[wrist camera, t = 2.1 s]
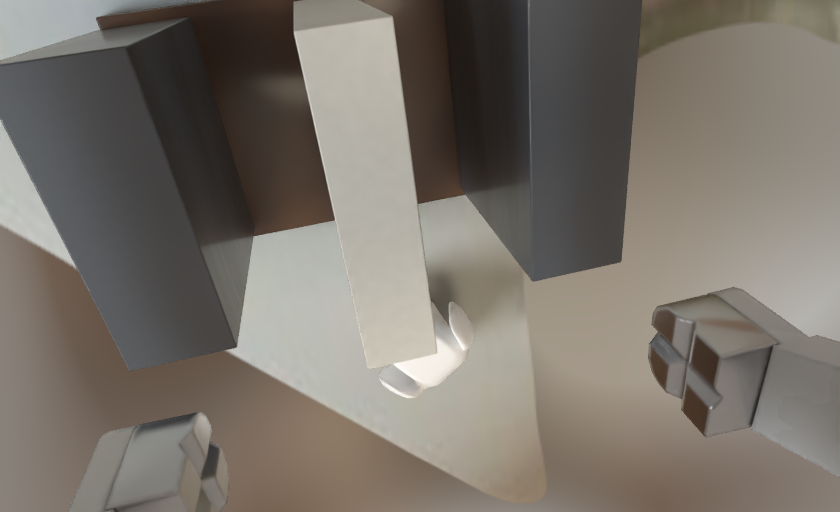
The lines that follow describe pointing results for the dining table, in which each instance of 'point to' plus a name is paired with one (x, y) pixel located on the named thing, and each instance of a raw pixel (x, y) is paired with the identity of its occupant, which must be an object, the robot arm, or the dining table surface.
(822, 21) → the dining table surface
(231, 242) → the grey stand
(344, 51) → the white rectangular block
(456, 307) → the elephant figurine
